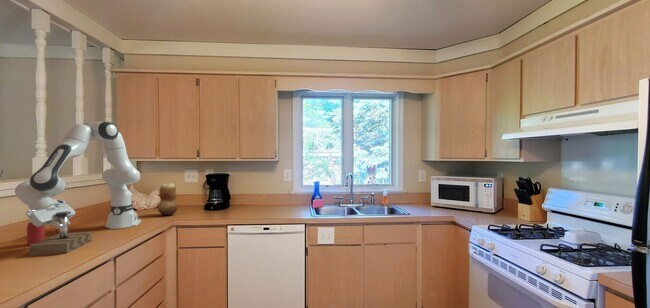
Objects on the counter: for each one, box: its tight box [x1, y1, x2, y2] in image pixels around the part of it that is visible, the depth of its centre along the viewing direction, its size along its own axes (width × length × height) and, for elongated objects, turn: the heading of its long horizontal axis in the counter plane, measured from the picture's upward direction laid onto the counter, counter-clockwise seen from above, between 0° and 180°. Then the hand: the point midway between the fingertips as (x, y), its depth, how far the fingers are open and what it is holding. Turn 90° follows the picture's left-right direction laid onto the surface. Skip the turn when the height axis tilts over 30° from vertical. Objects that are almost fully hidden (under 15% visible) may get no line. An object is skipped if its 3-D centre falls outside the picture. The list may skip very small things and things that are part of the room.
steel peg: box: [56, 211, 71, 239], centre depth 143 cm, size 6×6×16 cm
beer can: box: [26, 221, 46, 246], centre depth 150 cm, size 7×7×12 cm
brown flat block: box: [29, 231, 93, 257], centre depth 143 cm, size 20×15×5 cm
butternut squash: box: [157, 182, 179, 216], centre depth 220 cm, size 14×13×25 cm
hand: (64, 226), depth 143 cm, fingers closed on steel peg, 3 cm apart
